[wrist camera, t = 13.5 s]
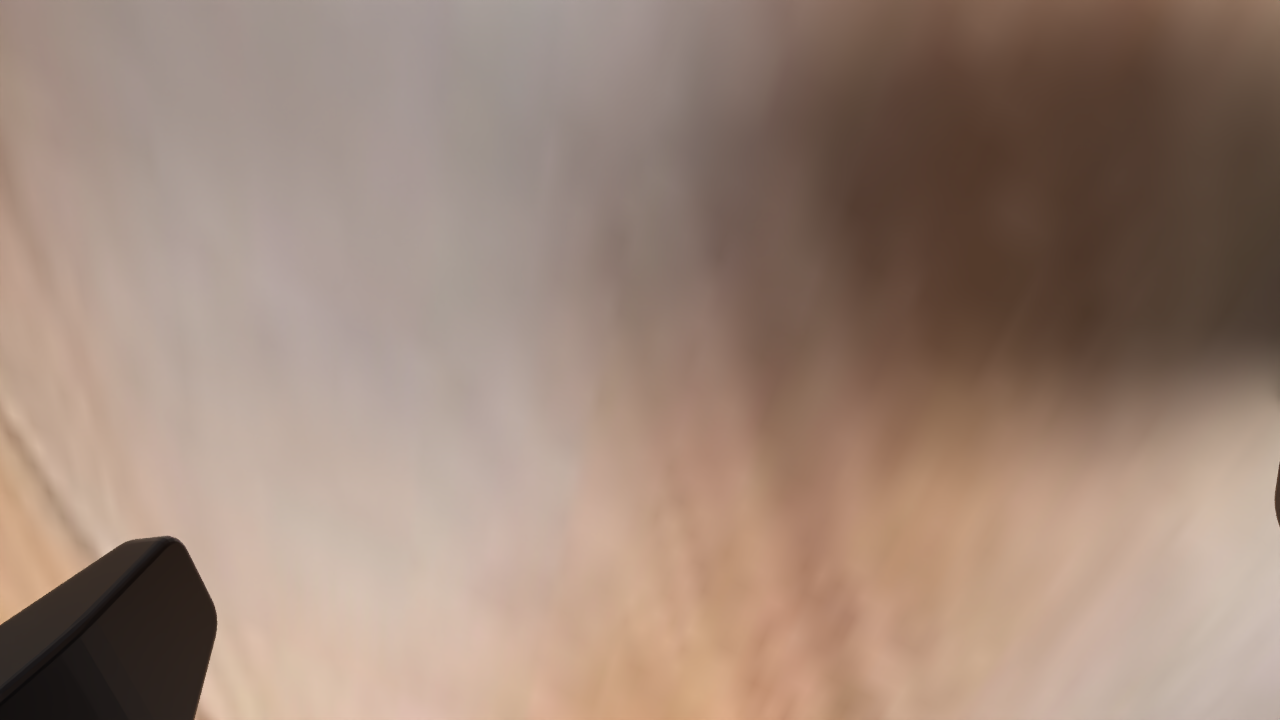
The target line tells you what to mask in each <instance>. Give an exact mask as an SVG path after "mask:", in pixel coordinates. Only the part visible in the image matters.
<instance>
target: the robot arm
mask: <svg viewBox="0 0 1280 720" xmlns="http://www.w3.org/2000/svg"><path fill="white" fill-rule="evenodd" d="M1275 510H1276V516H1277V520H1278V523H1279V526H1280V464H1279V470H1278V477H1277V484H1276V490H1275ZM216 631H217V614H216V610H215V606H214V603H213V601H212V599H211V597H210V595H209V593H208V591H207V589H206V587H205V585H204V583H203V581H202V579H201V577H200V575H199V573H198V571H197V569H196V567H195V565H194V563H193V561H192V559H191V557H190V555H189V553H188V551H187V549H186V547H185V546H184V544H183V543H182V542H181V541H179V540H178V539H177V538H174V537H171V536H161V537H152V538H143V539H135V540H130V541H127V542H125V543H123V544H121V545H119V546H118V547H116V548H115V549H113V550H112V551H110V552H109V553H107V554H106V555H104V556H103V557H101V558H100V559H98V560H97V561H95V562H94V563H92V564H91V565H89V566H88V567H86V568H85V569H83V570H82V571H81V572H79V573H78V574H76V575H75V576H73V577H72V578H70V579H69V580H67V581H66V582H64V583H63V584H61V585H60V586H58V587H57V588H55V589H54V590H52V591H51V592H49V593H48V594H46V595H45V596H43V597H42V598H40V599H39V600H37V601H36V602H34V603H33V604H31V605H30V606H28V607H27V608H25V609H24V610H22V611H21V612H19V613H18V614H16V615H15V616H13V617H12V618H10V619H9V620H7V621H6V622H4V623H3V624H1V625H0V720H194V719H195V715H196V711H197V707H198V703H199V699H200V695H201V692H202V688H203V684H204V680H205V676H206V672H207V668H208V664H209V660H210V656H211V653H212V649H213V645H214V641H215V637H216Z"/></svg>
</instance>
